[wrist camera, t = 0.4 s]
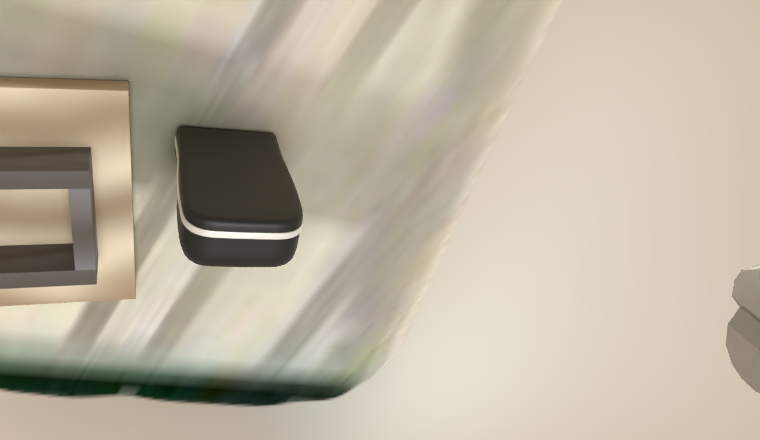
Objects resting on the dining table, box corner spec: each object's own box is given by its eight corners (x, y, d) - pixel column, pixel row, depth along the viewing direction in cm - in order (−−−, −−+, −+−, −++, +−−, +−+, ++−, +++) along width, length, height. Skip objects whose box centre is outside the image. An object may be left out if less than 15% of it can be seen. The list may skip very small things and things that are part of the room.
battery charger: (168, 174, 49) (177, 277, 40) (173, 123, 47) (183, 220, 38) (271, 180, 51) (301, 279, 42) (279, 131, 50) (312, 224, 40)
